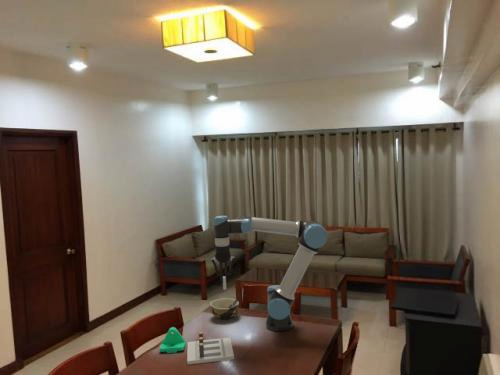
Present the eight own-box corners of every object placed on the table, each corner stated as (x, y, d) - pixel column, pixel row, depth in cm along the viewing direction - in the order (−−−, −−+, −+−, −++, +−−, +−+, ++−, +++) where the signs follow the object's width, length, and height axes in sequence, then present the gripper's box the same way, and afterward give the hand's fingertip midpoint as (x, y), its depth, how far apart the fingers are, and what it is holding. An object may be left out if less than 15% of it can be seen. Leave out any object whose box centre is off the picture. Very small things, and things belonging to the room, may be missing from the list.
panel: (230, 340, 222) (229, 337, 222) (234, 359, 200) (233, 355, 200) (187, 345, 219) (187, 341, 219) (187, 364, 197) (187, 360, 197)
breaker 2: (203, 353, 203) (203, 342, 203) (204, 355, 201) (203, 344, 200) (199, 353, 203) (199, 343, 203) (199, 356, 200) (199, 345, 200)
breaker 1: (203, 347, 210) (202, 336, 210) (203, 349, 208) (203, 339, 207) (199, 347, 210) (198, 337, 210) (199, 349, 207) (199, 339, 207)
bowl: (207, 323, 248) (206, 307, 248) (214, 312, 266) (213, 297, 265) (236, 323, 245) (235, 307, 245) (242, 312, 263) (241, 297, 262)
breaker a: (203, 341, 217) (202, 331, 217) (203, 343, 215) (202, 333, 214) (199, 341, 217) (198, 331, 217) (199, 344, 214) (198, 333, 214)
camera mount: (159, 354, 210) (158, 333, 210) (162, 347, 218) (161, 327, 218) (183, 352, 211) (182, 332, 210) (185, 345, 219) (184, 326, 218)
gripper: (233, 243, 227) (236, 286, 229) (209, 244, 226) (212, 288, 227) (235, 245, 220) (237, 290, 221) (210, 247, 218) (212, 292, 220)
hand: (224, 289), depth 224 cm, fingers closed
